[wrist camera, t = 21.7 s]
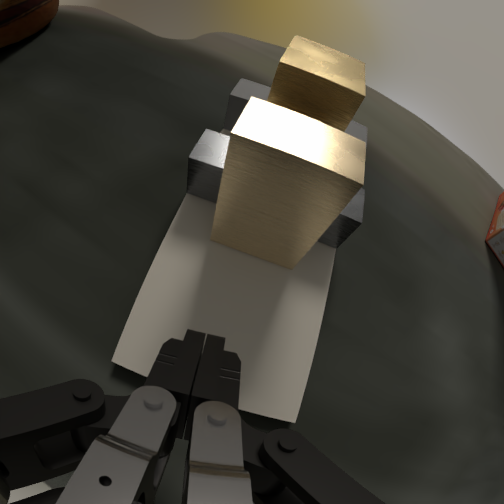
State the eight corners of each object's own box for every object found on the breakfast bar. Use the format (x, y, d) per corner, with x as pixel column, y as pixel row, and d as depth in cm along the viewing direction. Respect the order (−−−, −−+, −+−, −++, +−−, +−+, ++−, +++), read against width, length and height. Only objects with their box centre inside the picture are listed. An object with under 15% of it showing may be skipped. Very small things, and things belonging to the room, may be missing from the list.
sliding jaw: (170, 225, 21) (166, 113, 12) (201, 165, 23) (216, 56, 14) (329, 283, 21) (417, 211, 12) (341, 217, 24) (409, 134, 15)
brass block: (242, 180, 24) (279, 61, 14) (259, 140, 26) (295, 35, 16) (301, 202, 24) (365, 96, 14) (311, 160, 26) (364, 63, 16)
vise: (115, 362, 17) (92, 355, 13) (232, 118, 28) (241, 78, 23) (290, 421, 18) (321, 430, 13) (344, 161, 29) (367, 127, 24)
